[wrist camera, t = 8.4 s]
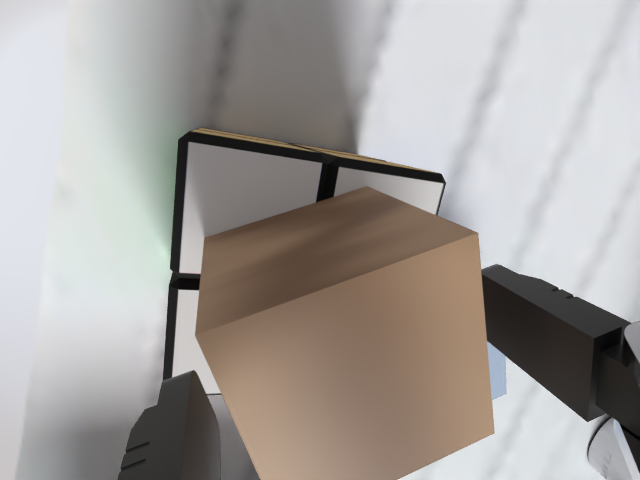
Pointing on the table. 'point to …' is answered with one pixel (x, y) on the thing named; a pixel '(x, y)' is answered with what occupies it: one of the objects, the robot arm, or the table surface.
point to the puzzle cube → (257, 210)
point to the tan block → (348, 338)
